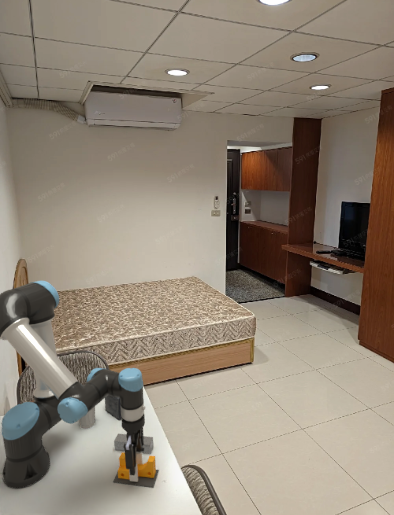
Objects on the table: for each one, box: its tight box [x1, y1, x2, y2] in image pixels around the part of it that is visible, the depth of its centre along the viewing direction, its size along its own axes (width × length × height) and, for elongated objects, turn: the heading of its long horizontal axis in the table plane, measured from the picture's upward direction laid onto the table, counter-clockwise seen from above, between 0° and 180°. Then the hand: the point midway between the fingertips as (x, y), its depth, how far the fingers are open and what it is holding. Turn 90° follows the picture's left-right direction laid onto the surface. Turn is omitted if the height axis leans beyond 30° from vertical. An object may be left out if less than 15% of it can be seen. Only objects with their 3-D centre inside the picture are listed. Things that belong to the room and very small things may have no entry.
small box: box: [104, 395, 122, 421], centre depth 153 cm, size 11×6×10 cm, turn 49°
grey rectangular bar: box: [113, 433, 154, 455], centre depth 133 cm, size 14×4×4 cm, turn 81°
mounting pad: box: [112, 469, 160, 489], centre depth 121 cm, size 14×7×1 cm, turn 81°
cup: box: [78, 406, 96, 430], centre depth 146 cm, size 8×8×12 cm
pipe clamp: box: [117, 451, 157, 480], centre depth 120 cm, size 12×4×6 cm, turn 81°
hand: (136, 474), depth 120 cm, fingers closed on pipe clamp, 4 cm apart
